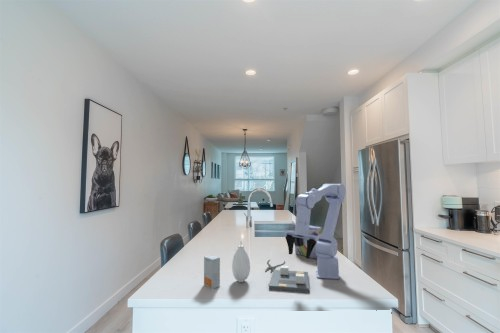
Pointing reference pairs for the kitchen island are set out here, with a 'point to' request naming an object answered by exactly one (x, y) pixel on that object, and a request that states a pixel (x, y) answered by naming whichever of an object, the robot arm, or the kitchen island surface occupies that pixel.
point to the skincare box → (212, 271)
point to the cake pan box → (302, 243)
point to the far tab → (284, 270)
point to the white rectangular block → (300, 278)
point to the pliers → (272, 267)
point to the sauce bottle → (241, 264)
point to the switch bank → (288, 281)
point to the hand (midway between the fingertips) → (299, 256)
